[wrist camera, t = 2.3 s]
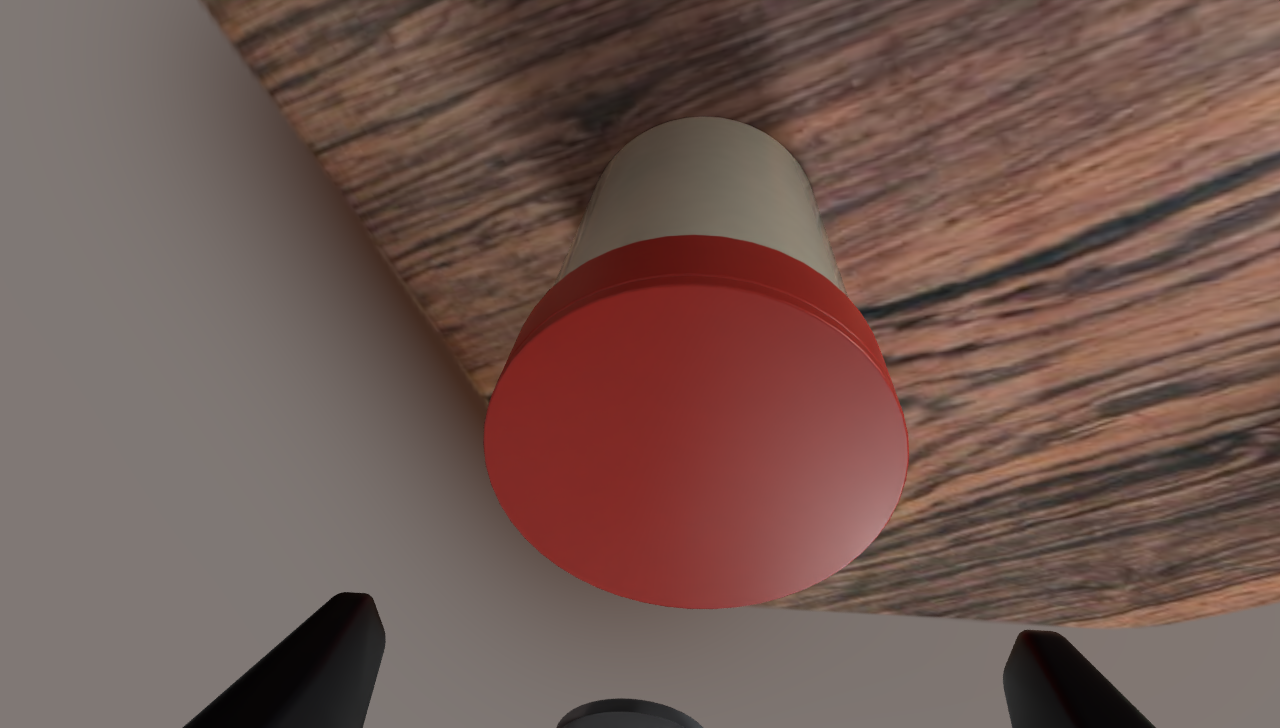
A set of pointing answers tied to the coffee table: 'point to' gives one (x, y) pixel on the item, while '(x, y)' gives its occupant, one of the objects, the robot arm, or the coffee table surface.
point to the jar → (705, 194)
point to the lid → (697, 425)
